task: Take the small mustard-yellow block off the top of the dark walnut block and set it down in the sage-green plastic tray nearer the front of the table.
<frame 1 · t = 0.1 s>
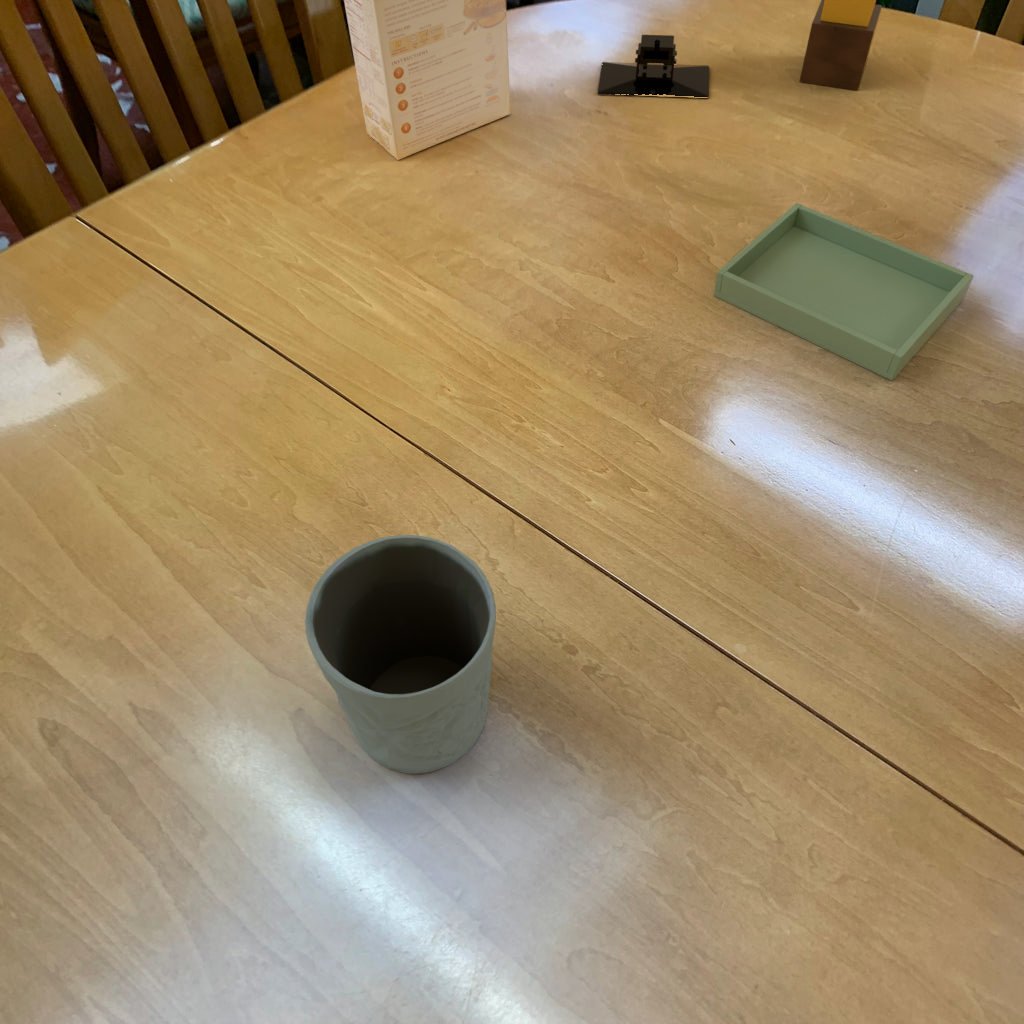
base block: (833, 72, 106), on the table, touching top block
grey green cup: (424, 711, 59), on the table
top block: (847, 13, 101), point 6 cm above the table, touching base block
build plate: (653, 83, 106), on the table
tray: (837, 297, 82), on the table
coffeecake box: (439, 126, 102), on the table
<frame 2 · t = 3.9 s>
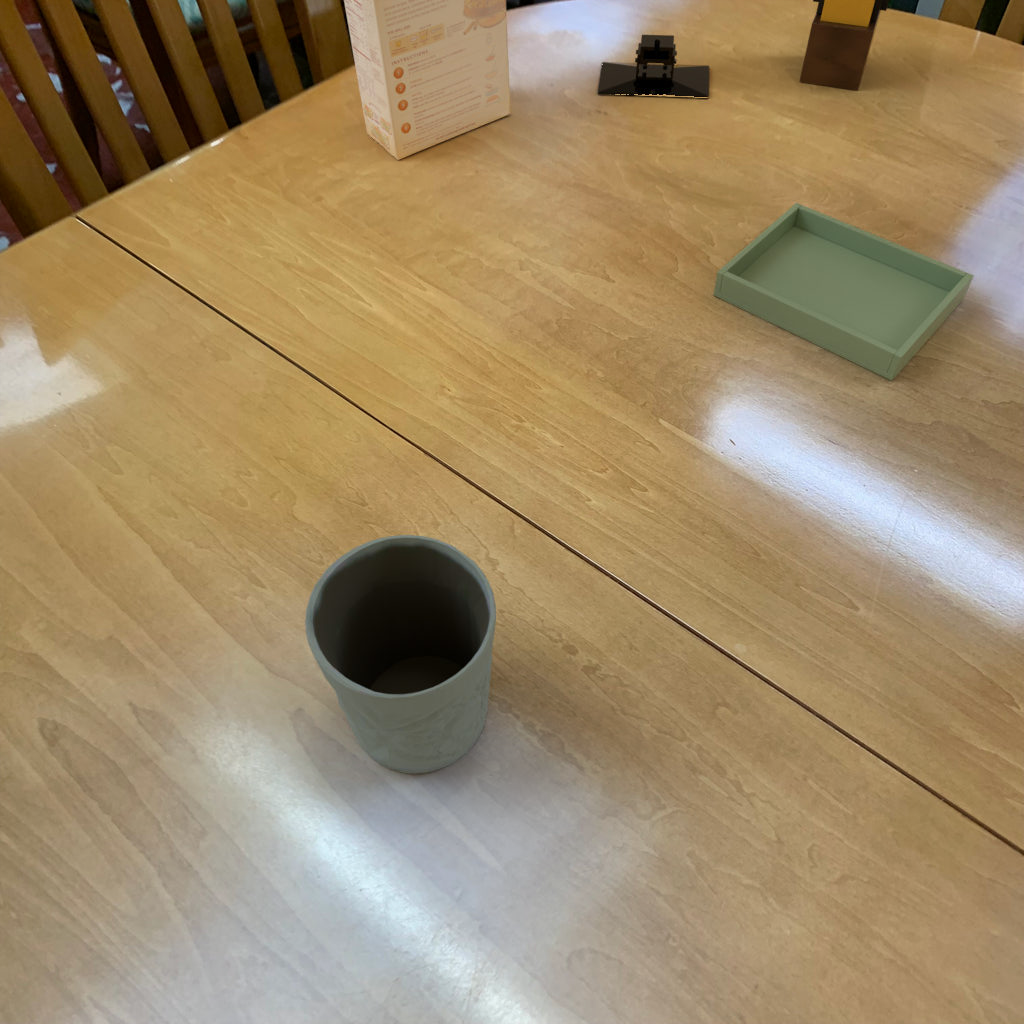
hand: (848, 10, 100), 7 cm above the table, tool pointing down, fingers closed on top block, 5 cm apart
top block: (847, 13, 101), point 6 cm above the table, touching base block, gripper
everything else where it was.
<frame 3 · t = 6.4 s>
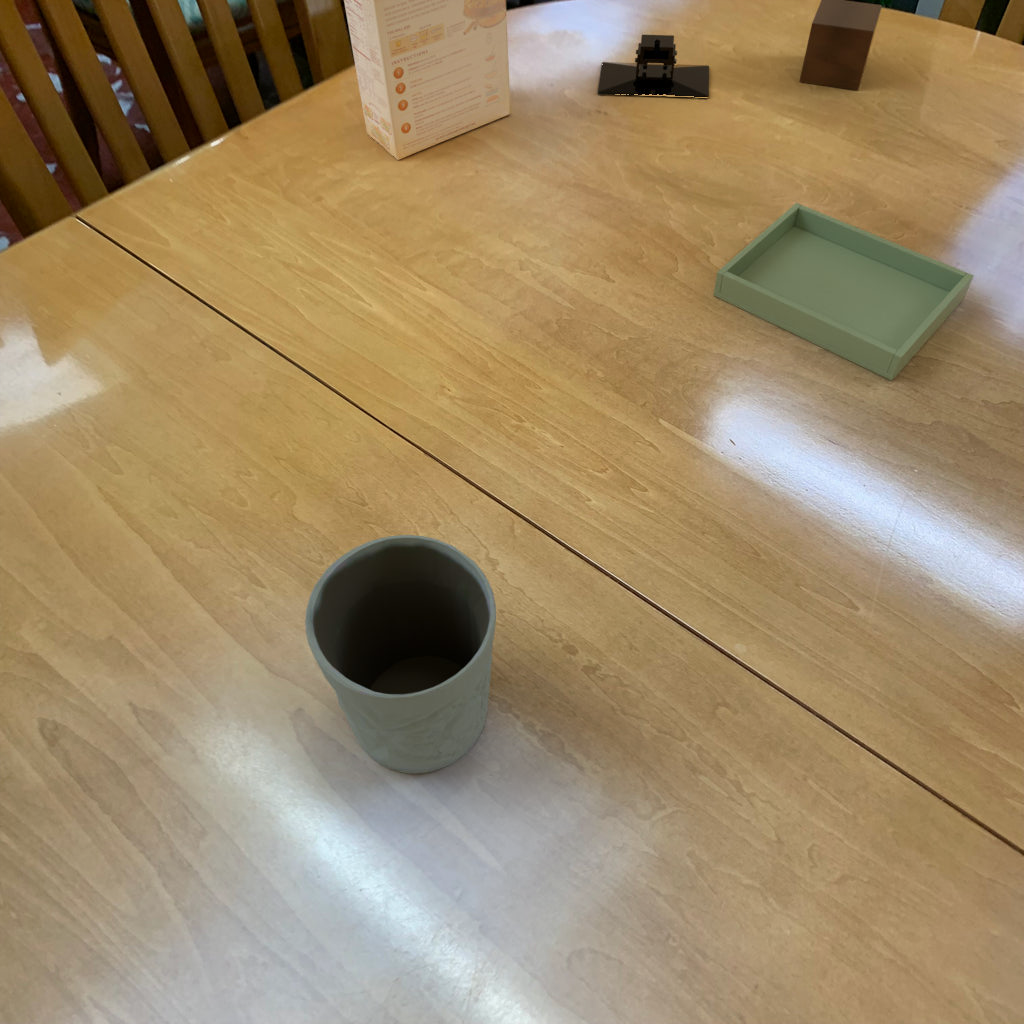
base block: (833, 72, 106), on the table
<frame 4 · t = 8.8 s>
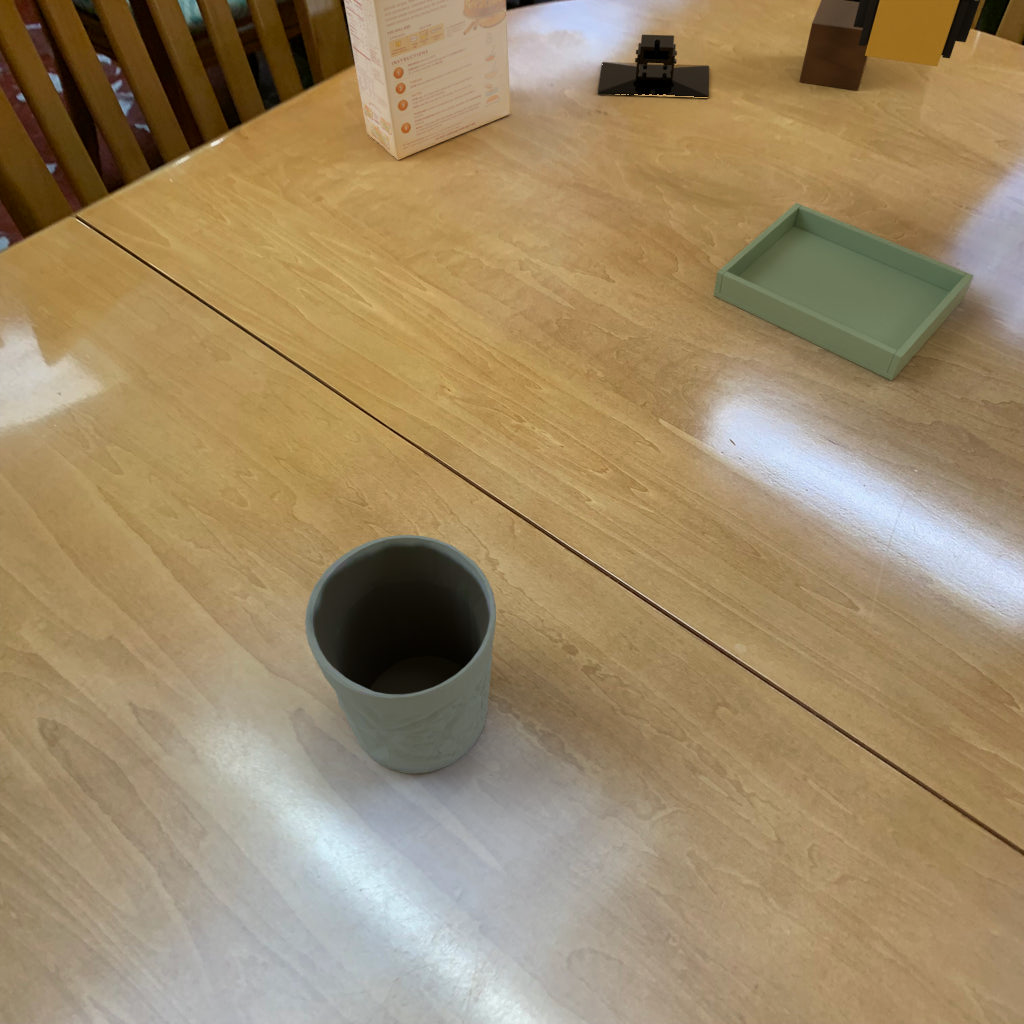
hand: (906, 41, 67), 21 cm above the table, tool pointing down, fingers closed on top block, 5 cm apart
top block: (905, 45, 67), point 21 cm above the table, touching gripper
everything else where it was.
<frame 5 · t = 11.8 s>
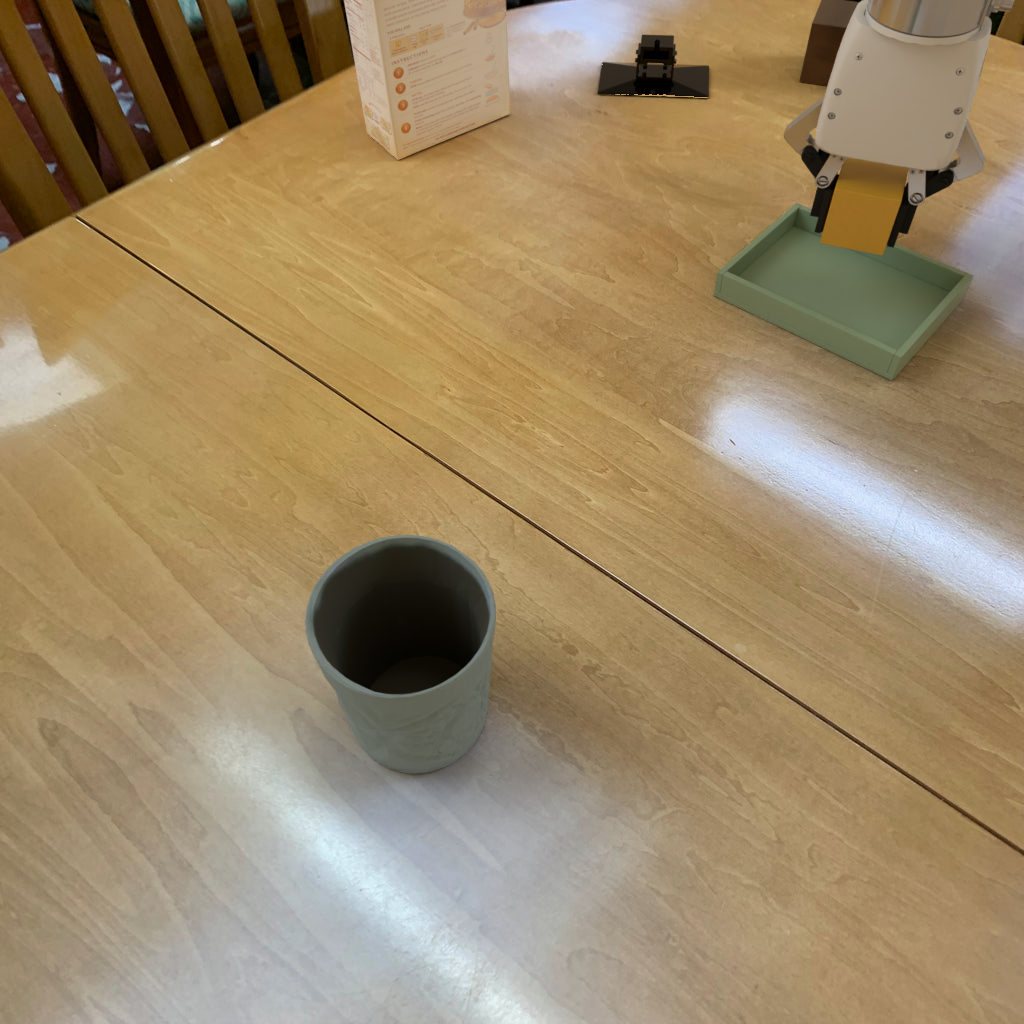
hand: (856, 228, 76), 7 cm above the table, tool pointing down, fingers closed on top block, 5 cm apart
top block: (855, 232, 76), point 7 cm above the table, touching gripper
everything else where it was.
when the fingers open (1 cm above the table, at t = 13.7 s): top block stays where it is, resting on tray.
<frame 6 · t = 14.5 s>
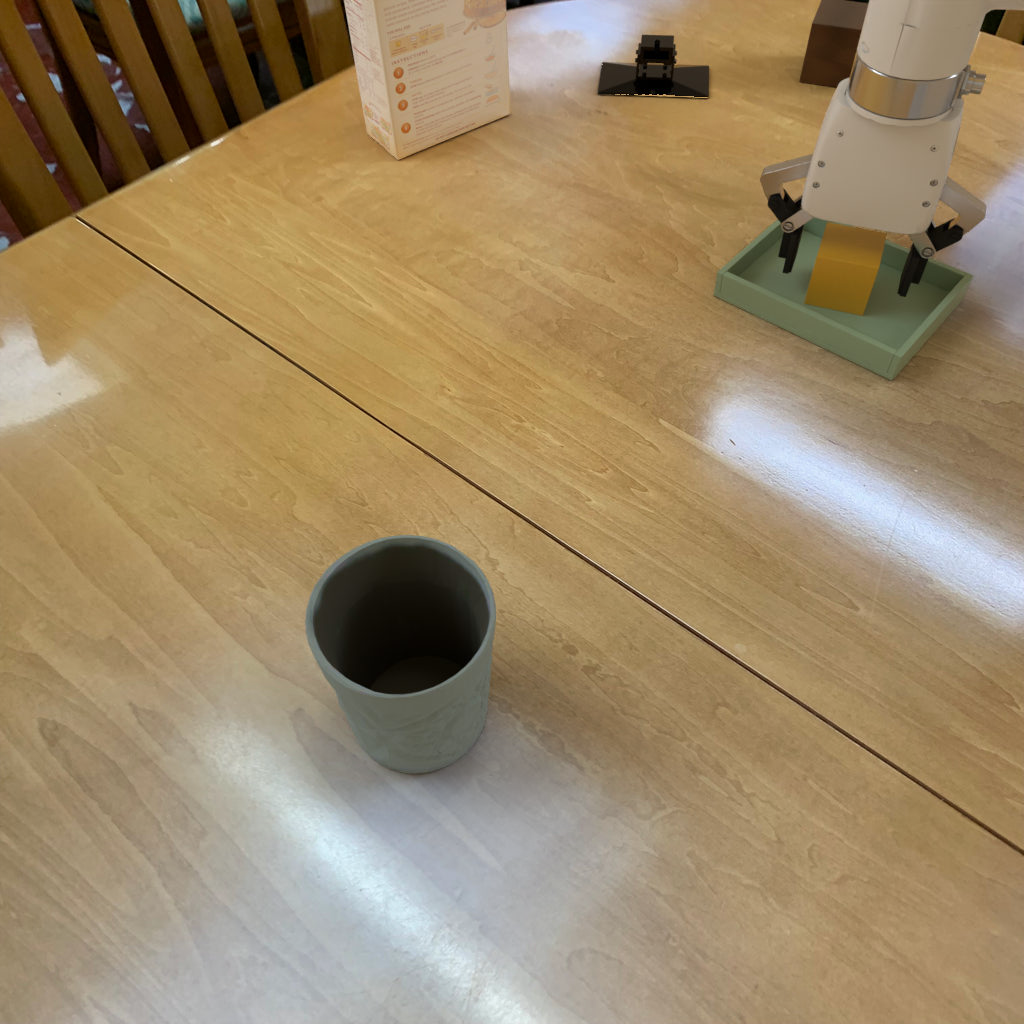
hand: (845, 275, 80), 2 cm above the table, tool pointing down, fingers open, 9 cm apart
top block: (837, 292, 81), point 1 cm above the table, touching tray
everything else where it was.
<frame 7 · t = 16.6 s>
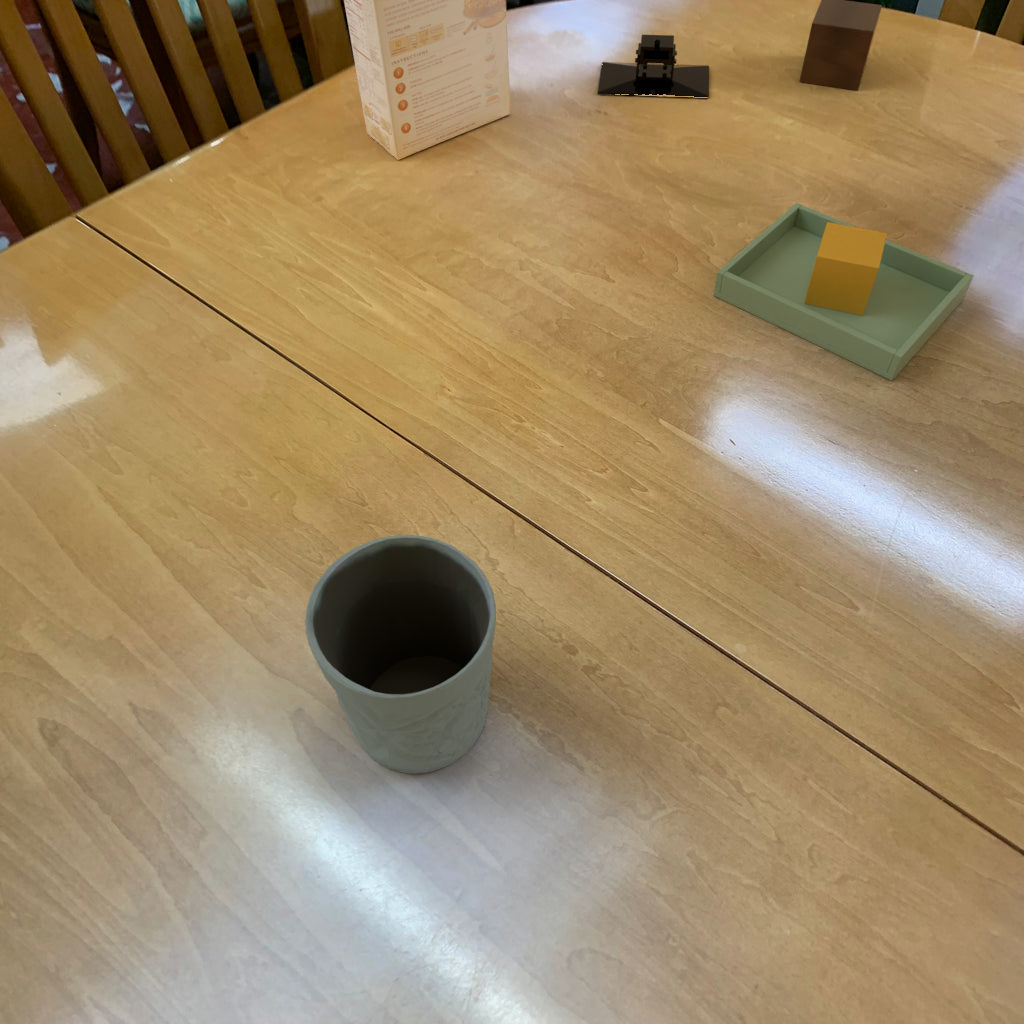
nothing on the table moved.
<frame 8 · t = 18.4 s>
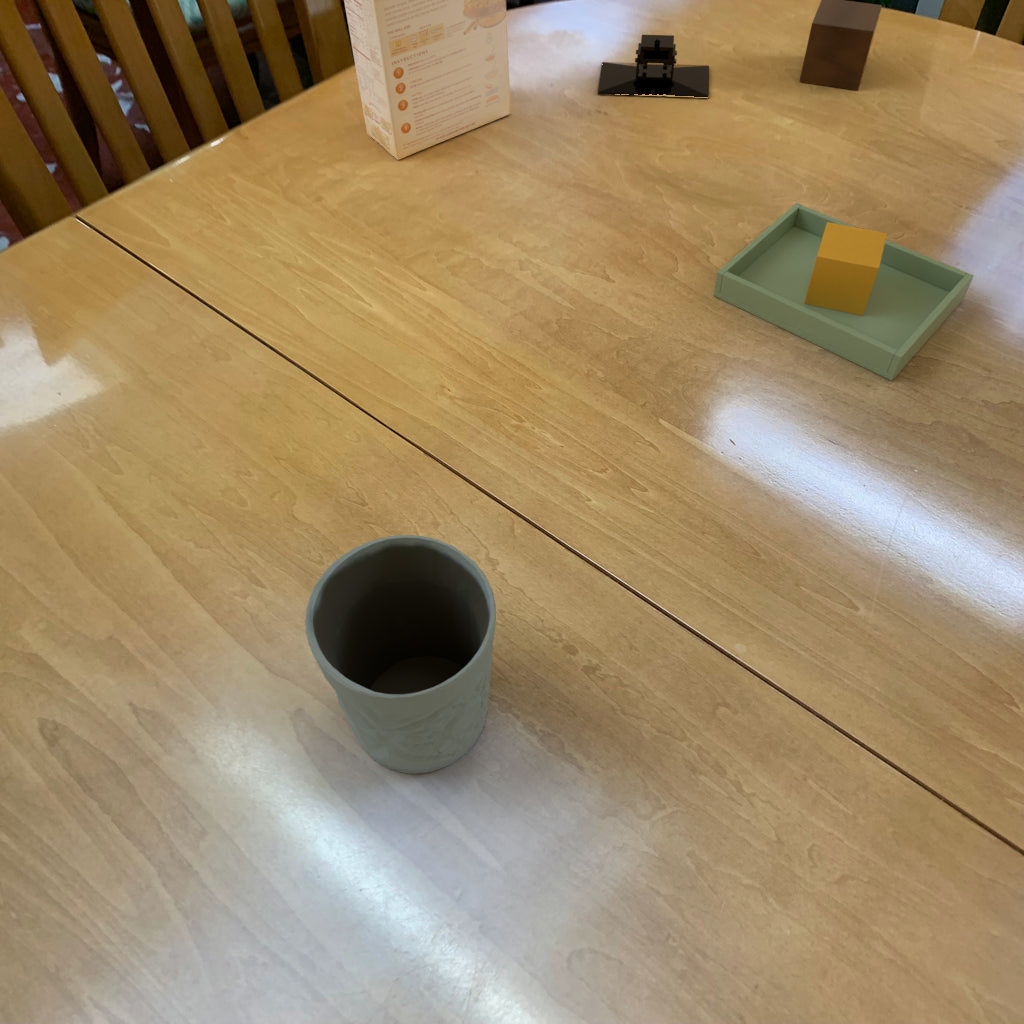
nothing on the table moved.
at the end: top block inside the target area in the tray (0.1 cm from its centre), point 0.6 cm above the tray's base; base block moved 0.0 cm from its start; top block tilted 0° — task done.
